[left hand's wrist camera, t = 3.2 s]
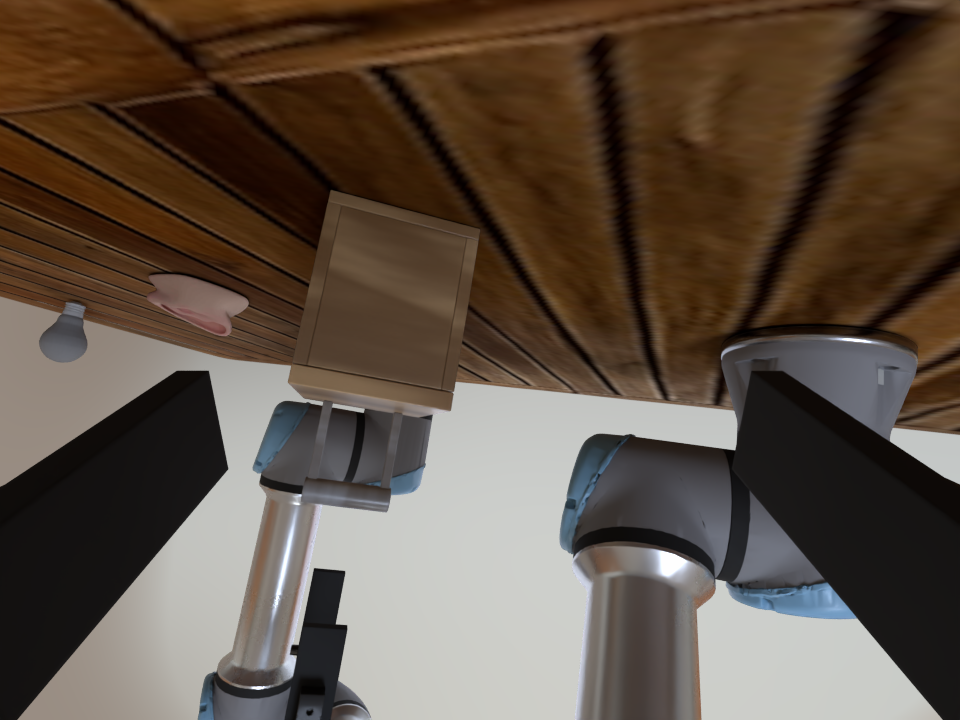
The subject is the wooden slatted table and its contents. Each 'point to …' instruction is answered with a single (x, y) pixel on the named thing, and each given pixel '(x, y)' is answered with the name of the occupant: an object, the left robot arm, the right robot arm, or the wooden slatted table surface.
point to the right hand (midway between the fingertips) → (328, 592)
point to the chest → (388, 294)
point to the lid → (366, 396)
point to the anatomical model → (197, 301)
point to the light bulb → (65, 335)
